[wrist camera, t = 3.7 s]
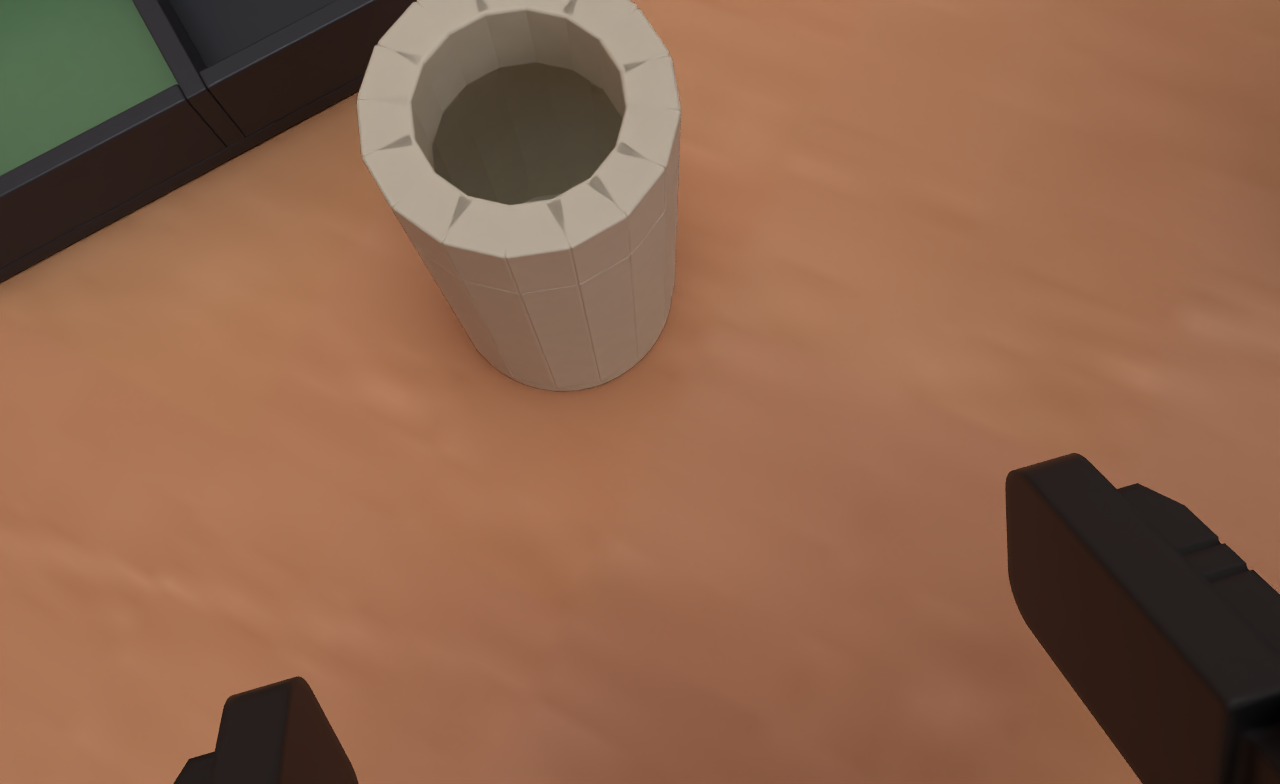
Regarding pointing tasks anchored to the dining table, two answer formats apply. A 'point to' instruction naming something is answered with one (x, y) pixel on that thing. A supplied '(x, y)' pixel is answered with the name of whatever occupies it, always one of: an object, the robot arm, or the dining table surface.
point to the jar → (533, 175)
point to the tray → (155, 99)
